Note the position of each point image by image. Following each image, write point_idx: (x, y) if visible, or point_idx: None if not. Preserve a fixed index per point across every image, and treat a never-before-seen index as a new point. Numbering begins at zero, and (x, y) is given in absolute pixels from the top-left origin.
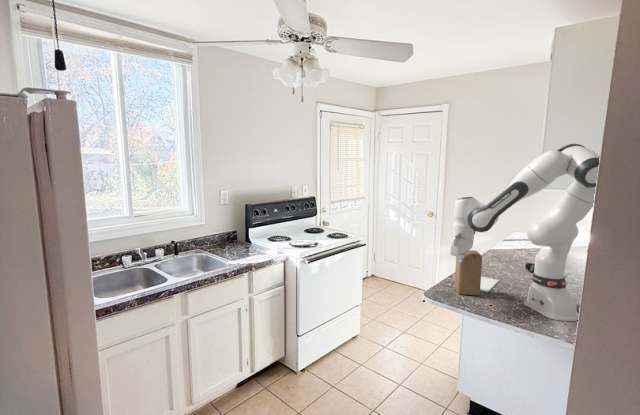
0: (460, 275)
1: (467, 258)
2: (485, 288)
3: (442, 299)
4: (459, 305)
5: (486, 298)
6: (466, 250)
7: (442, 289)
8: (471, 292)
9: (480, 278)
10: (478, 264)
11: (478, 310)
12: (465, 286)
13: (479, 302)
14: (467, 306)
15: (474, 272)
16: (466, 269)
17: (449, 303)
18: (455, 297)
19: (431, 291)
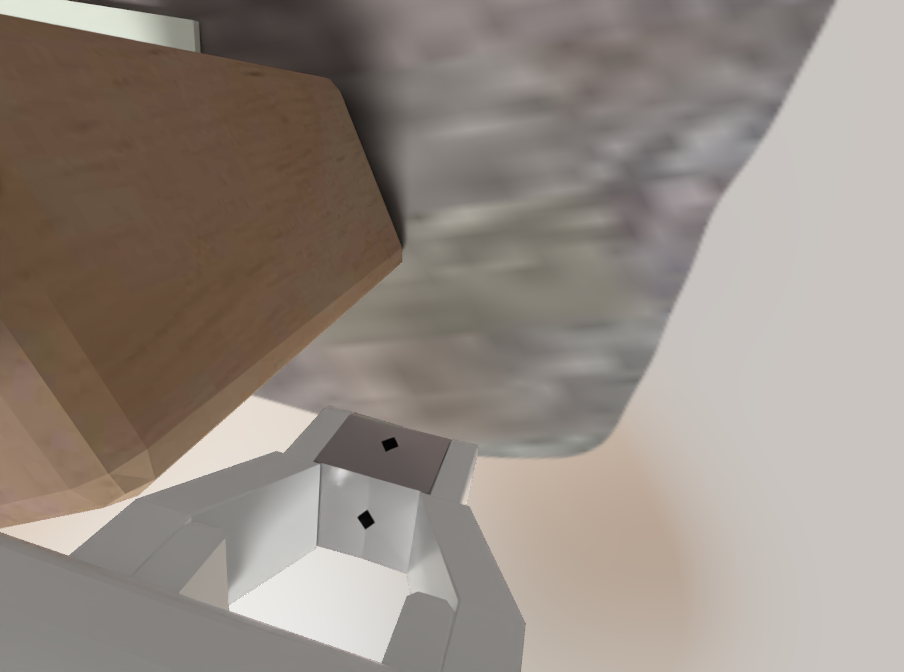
0: (334, 312)
1: (102, 339)
2: None
3: (582, 362)
4: (659, 220)
5: (349, 5)
6: (93, 628)
7: (367, 380)
8: (360, 154)
9: (231, 60)
10: (77, 84)
11: (716, 28)
12: (363, 221)
13: (490, 54)
14: (652, 148)
15: (225, 147)
16: (258, 272)
17: (649, 303)
18: (482, 273)
19: None
